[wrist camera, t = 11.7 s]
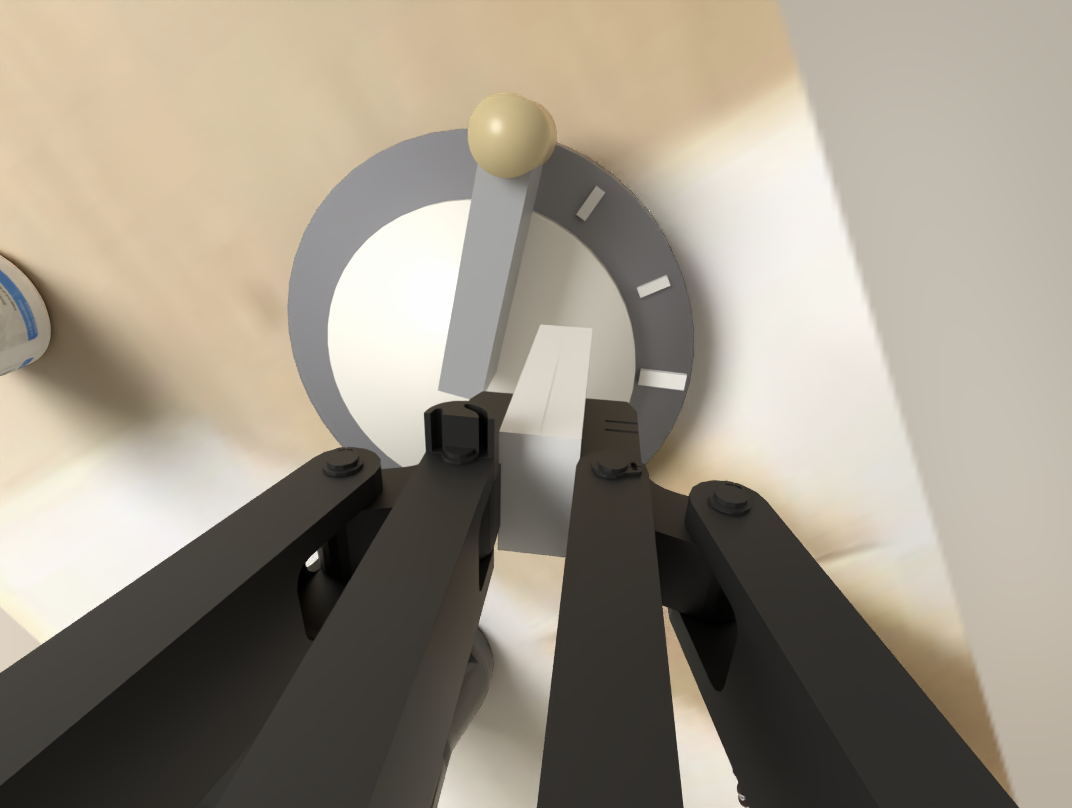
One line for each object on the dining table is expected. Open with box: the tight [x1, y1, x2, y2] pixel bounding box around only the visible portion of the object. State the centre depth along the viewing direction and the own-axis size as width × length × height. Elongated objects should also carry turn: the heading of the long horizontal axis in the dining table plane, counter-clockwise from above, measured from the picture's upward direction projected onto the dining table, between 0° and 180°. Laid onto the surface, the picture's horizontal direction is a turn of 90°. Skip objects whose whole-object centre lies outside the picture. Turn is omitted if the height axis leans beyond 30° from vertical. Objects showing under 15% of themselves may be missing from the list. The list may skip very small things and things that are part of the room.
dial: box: [328, 93, 635, 467], centre depth 31 cm, size 24×19×7 cm
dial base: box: [288, 129, 694, 469], centre depth 37 cm, size 26×26×3 cm
